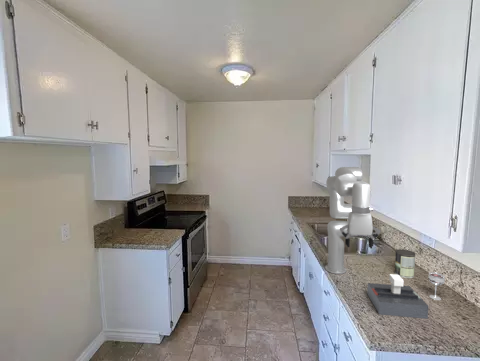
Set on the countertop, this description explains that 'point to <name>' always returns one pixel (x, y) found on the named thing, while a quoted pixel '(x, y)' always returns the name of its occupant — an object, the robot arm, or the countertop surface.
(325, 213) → the countertop surface
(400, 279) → the handle
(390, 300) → the slider base
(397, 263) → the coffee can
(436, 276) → the wineglass
